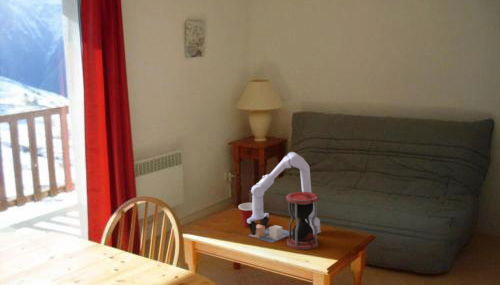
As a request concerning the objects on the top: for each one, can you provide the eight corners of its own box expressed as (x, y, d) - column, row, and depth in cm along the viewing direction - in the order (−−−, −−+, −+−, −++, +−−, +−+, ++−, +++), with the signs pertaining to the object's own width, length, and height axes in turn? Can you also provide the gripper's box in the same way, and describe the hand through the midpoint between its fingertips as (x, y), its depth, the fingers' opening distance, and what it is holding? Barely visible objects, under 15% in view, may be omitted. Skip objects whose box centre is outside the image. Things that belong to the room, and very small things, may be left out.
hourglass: (310, 251, 270) (310, 201, 266) (281, 246, 278) (280, 197, 274) (324, 241, 283) (324, 193, 279) (295, 236, 292) (295, 190, 287)
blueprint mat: (295, 233, 296) (295, 232, 296) (271, 243, 283) (271, 242, 283) (271, 226, 308) (271, 226, 308) (247, 235, 294) (247, 235, 294)
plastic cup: (236, 229, 306) (236, 207, 304) (241, 222, 316) (241, 202, 314) (255, 230, 303) (255, 208, 301) (260, 223, 314) (259, 203, 311)
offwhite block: (282, 236, 292) (282, 226, 291) (276, 238, 288) (276, 229, 287) (275, 234, 295) (275, 225, 294) (269, 236, 292) (269, 227, 291)
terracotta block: (265, 235, 294) (265, 226, 293) (258, 237, 290) (258, 228, 289) (258, 233, 297) (258, 224, 296) (251, 235, 294) (251, 226, 293)
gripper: (261, 203, 299) (262, 228, 301) (242, 209, 289) (243, 234, 291) (271, 206, 294) (271, 230, 296) (252, 212, 284) (253, 237, 286)
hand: (258, 233), depth 293 cm, fingers open, 7 cm apart
